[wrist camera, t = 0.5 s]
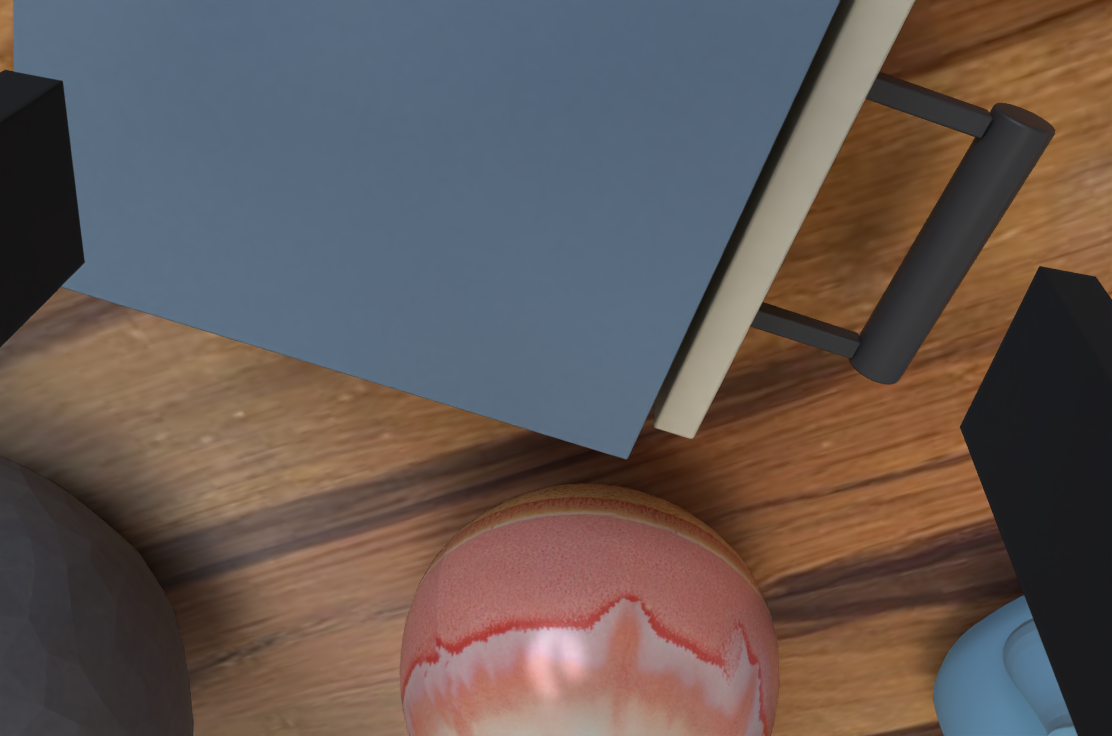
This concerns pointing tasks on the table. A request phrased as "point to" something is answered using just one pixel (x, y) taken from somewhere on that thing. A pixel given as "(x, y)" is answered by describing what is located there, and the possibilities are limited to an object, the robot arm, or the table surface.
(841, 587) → the table surface
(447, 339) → the cabinet
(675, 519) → the vase
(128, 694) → the bowl
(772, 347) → the table surface
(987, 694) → the teapot
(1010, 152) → the open pull-out drawer
